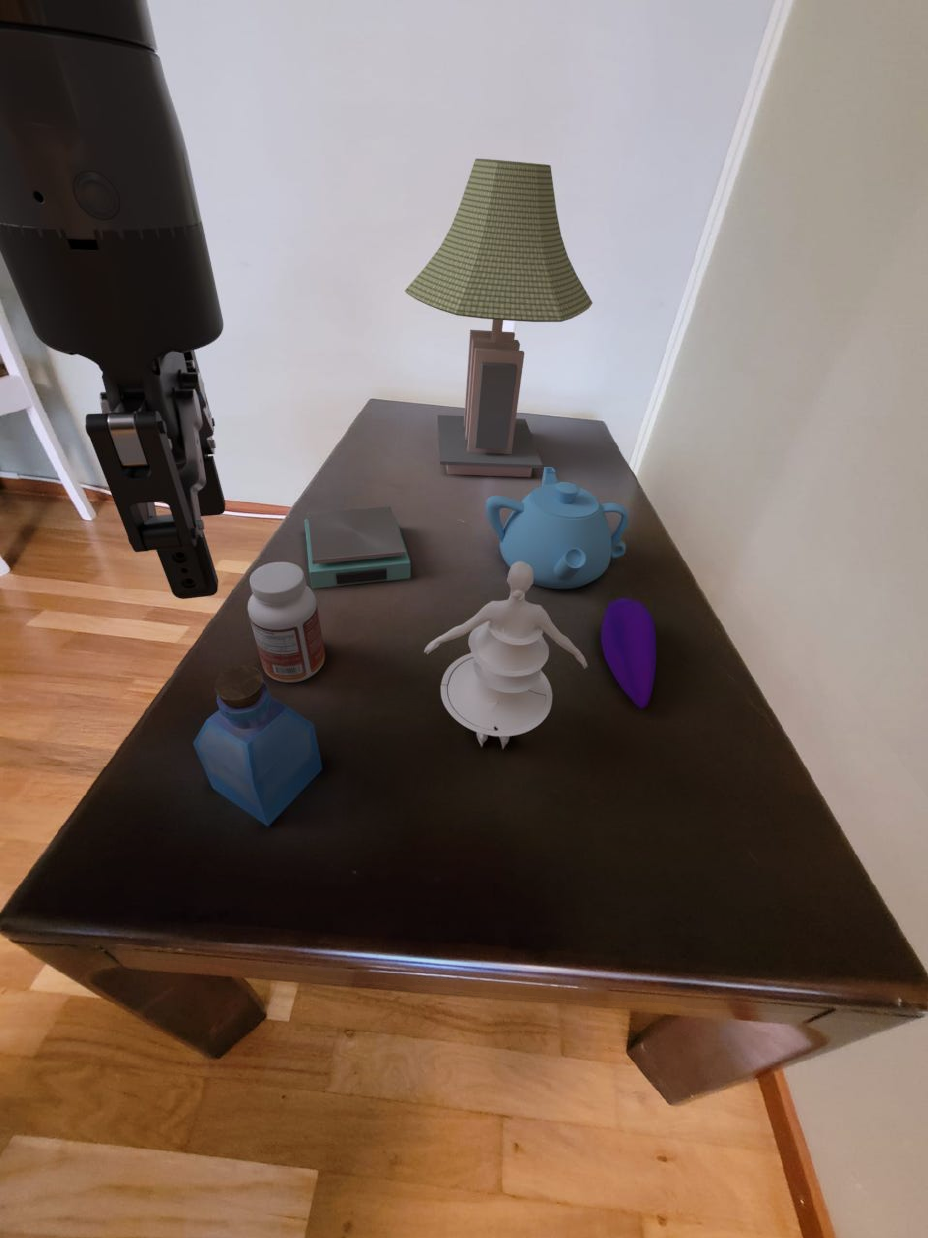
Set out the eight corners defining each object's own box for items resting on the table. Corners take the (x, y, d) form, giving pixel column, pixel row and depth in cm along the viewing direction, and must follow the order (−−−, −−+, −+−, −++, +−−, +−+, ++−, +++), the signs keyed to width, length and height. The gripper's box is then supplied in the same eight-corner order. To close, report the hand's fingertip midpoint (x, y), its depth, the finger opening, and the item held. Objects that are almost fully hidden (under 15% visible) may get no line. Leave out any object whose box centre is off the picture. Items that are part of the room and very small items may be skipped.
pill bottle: (305, 633, 59) (290, 548, 51) (337, 665, 55) (326, 578, 48) (251, 660, 55) (227, 572, 48) (282, 695, 52) (262, 607, 45)
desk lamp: (406, 423, 105) (406, 151, 79) (549, 429, 107) (595, 167, 81) (403, 485, 86) (400, 152, 59) (577, 491, 88) (649, 174, 62)
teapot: (464, 566, 70) (471, 487, 63) (537, 518, 81) (550, 446, 73) (564, 621, 63) (585, 539, 56) (630, 561, 74) (655, 486, 66)
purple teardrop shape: (626, 691, 50) (603, 581, 60) (612, 720, 54) (593, 611, 64) (677, 695, 50) (646, 584, 60) (660, 723, 54) (633, 614, 64)
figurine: (559, 701, 54) (607, 528, 41) (567, 786, 47) (629, 610, 33) (428, 689, 54) (434, 512, 41) (415, 772, 47) (418, 590, 33)
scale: (311, 590, 64) (308, 569, 62) (306, 535, 73) (303, 514, 71) (411, 580, 67) (411, 559, 65) (394, 528, 76) (394, 508, 74)
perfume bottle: (322, 769, 46) (304, 673, 38) (268, 827, 42) (235, 733, 34) (269, 736, 48) (242, 639, 40) (212, 788, 44) (170, 691, 36)
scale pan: (312, 564, 63) (312, 560, 63) (307, 516, 71) (307, 512, 70) (405, 555, 66) (405, 551, 65) (391, 510, 73) (390, 506, 73)
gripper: (41, 189, 26) (151, 497, 36) (-104, 226, 15) (109, 639, 26) (211, 197, 27) (268, 488, 38) (181, 235, 17) (272, 618, 28)
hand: (204, 549), depth 32 cm, fingers open, 8 cm apart
